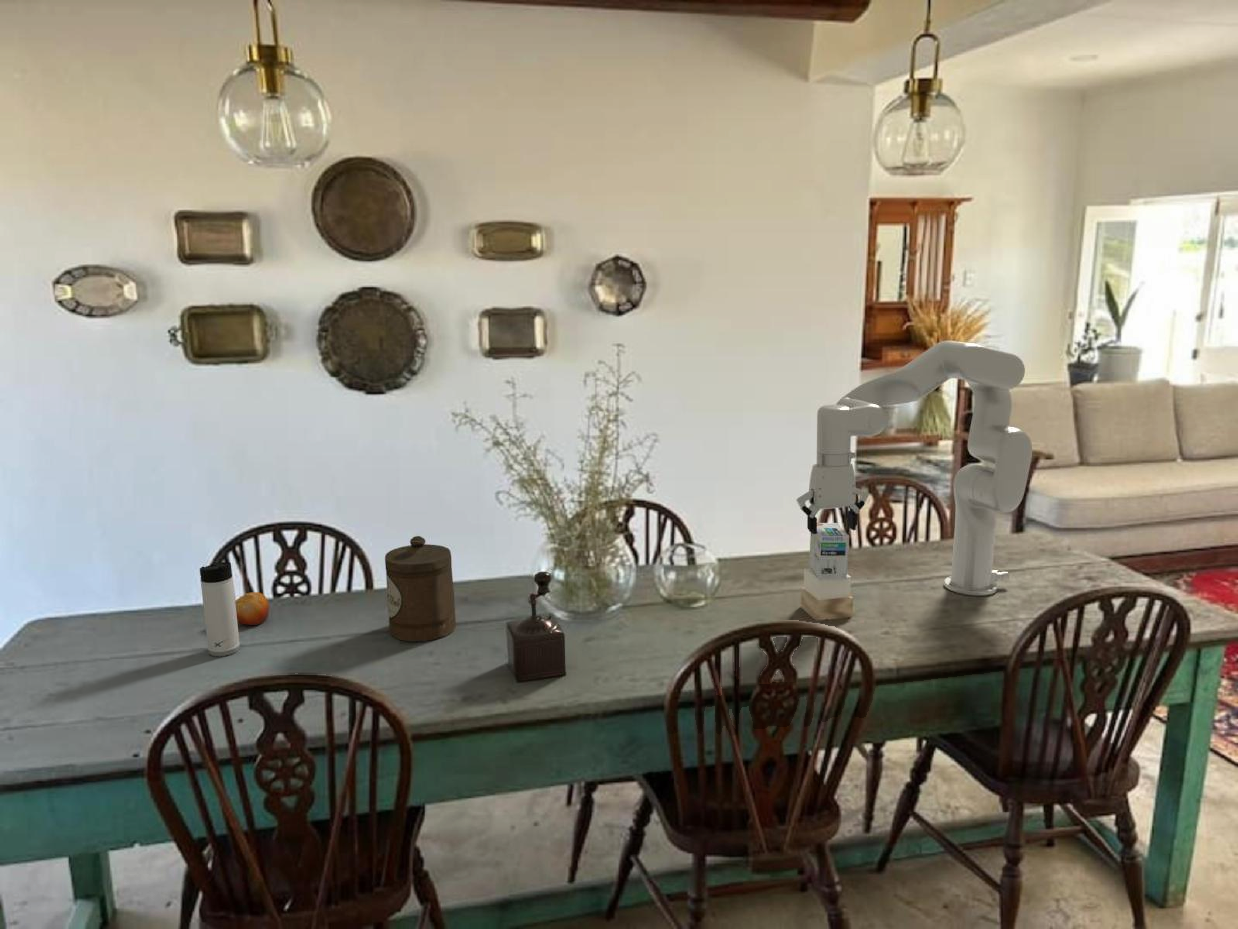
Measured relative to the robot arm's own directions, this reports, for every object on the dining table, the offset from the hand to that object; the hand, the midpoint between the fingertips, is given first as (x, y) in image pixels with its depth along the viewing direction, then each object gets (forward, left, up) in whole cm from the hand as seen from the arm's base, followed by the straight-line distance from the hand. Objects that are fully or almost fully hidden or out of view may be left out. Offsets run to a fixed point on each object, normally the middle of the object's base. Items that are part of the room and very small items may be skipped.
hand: (832, 530), depth 218 cm
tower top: (+1, 0, -15) cm, 15 cm away
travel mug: (+137, -7, -20) cm, 138 cm away
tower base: (+1, 0, -20) cm, 20 cm away
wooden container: (+95, -10, -20) cm, 97 cm away
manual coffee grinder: (+72, +14, -20) cm, 76 cm away
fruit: (+134, -23, -20) cm, 137 cm away
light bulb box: (+1, 0, -10) cm, 10 cm away
